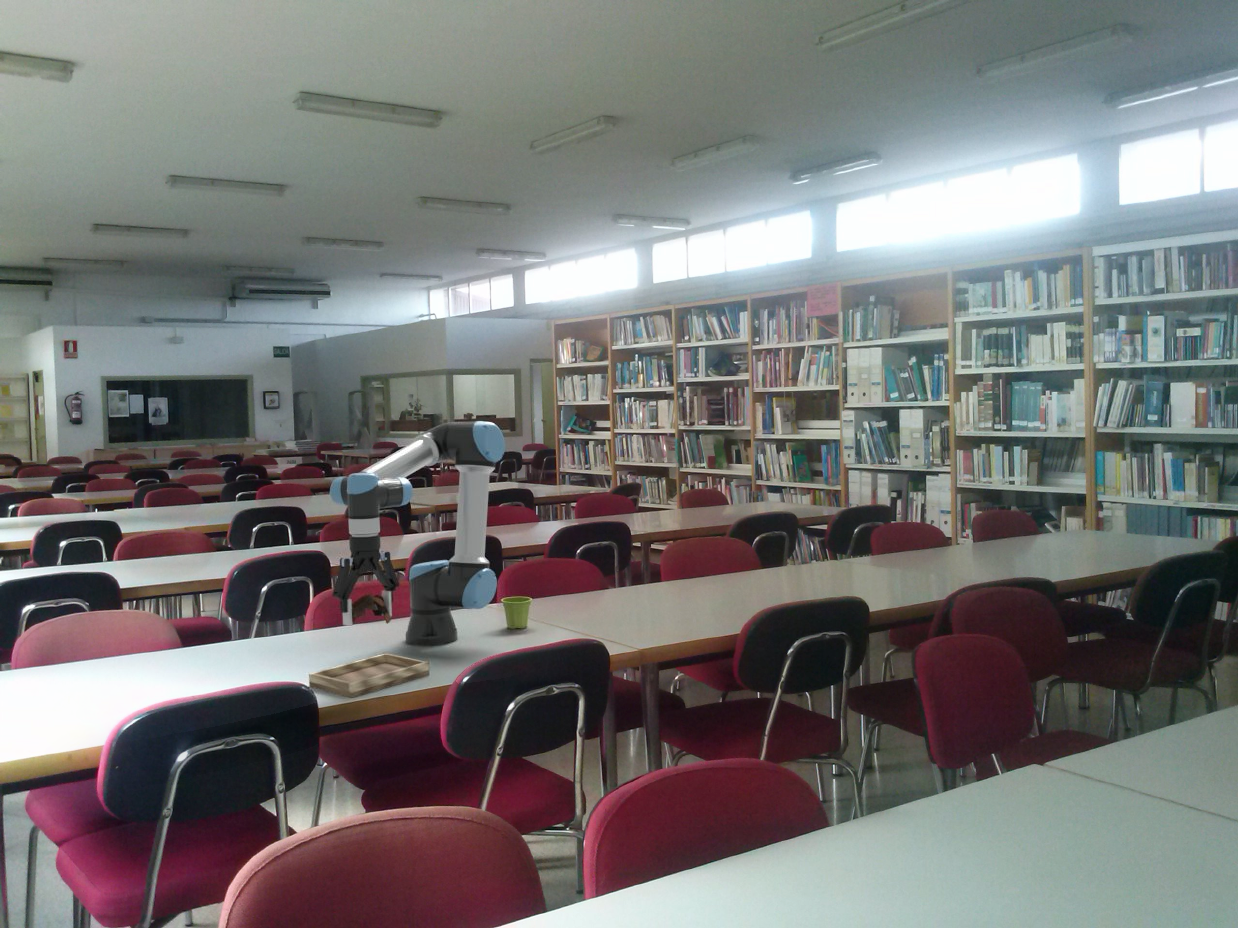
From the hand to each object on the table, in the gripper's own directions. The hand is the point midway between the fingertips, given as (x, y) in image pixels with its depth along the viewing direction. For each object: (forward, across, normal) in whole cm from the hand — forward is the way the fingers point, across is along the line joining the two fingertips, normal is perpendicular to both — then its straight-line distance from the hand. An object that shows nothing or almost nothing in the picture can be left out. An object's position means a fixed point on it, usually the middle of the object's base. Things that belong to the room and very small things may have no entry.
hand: (367, 620), depth 248 cm
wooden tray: (+15, 0, 0) cm, 15 cm away
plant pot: (+15, -64, -10) cm, 67 cm away
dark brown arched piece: (0, 0, +1) cm, 1 cm away
